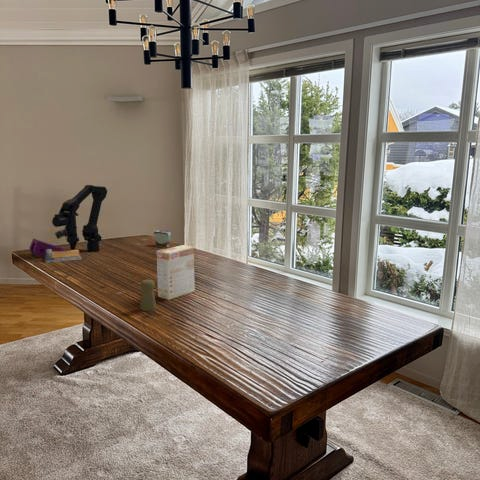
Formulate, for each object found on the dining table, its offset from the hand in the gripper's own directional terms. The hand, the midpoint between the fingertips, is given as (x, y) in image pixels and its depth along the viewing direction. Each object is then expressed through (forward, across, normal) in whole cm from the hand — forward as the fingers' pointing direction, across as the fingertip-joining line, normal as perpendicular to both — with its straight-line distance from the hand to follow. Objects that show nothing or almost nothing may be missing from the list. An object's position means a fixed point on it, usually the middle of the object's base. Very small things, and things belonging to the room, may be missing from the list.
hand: (72, 251), depth 247 cm
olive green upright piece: (+3, +100, +18) cm, 102 cm away
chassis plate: (+3, +3, -5) cm, 7 cm away
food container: (+3, -6, +55) cm, 55 cm away
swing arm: (+2, +6, -5) cm, 8 cm away
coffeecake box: (+3, +88, +33) cm, 94 cm away
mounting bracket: (+3, -10, -12) cm, 16 cm away
